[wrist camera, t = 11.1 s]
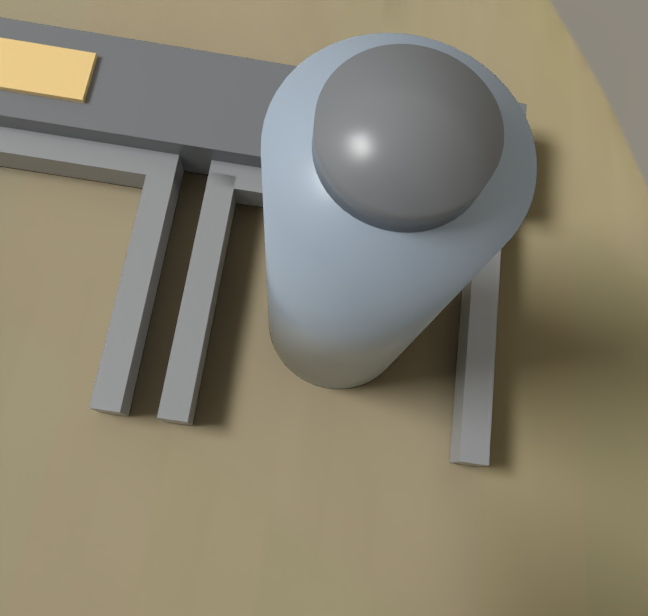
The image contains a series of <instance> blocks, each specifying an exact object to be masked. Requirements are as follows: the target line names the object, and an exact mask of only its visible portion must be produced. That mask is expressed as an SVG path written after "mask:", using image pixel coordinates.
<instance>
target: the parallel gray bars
mask: <svg viewBox="0 0 648 616" xmlns="http://www.w3.org/2000/svg"><path fill="white" fill-rule="evenodd" d="M296 67H297V66H292V65H286V64H280V63H274V62H268V61H262V60H255V59H249V58H243V57H237V56H231V55H225V54H219V53H213V52H207V51H201V50H195V49H189V48H183V47H177V46H171V45H165V44H158V43H152V42H146V41H140V40H134V39H128V38H122V37H116V36H110V35H104V34H98V33H92V32H86V31H80V30H74V29H68V28H62V27H55V26H49V25H43V24H37V23H31V22H25V21H19V20H13V19H7V18H1V17H0V166H3V167H10V168H16V169H22V170H29V171H35V172H41V173H48V174H54V175H61V176H67V177H73V178H80V179H86V180H92V181H99V182H105V183H112V184H118V185H124V186H131V187H137V188H143V190H142V194H141V198H140V202H139V206H138V210H137V214H136V218H135V222H134V226H133V230H132V234H131V238H130V242H129V247H128V251H127V255H126V259H125V263H124V267H123V271H122V275H121V279H120V283H119V287H118V291H117V295H116V300H115V304H114V308H113V312H112V316H111V320H110V324H109V328H108V332H107V336H106V340H105V344H104V348H103V353H102V357H101V361H100V365H99V369H98V373H97V377H96V381H95V385H94V389H93V393H92V397H91V401H90V406H89V408H90V409H93V410H95V411H98V412H102V413H109V414H115V415H122V416H129V412H130V407H131V403H132V398H133V394H134V390H135V385H136V381H137V376H138V372H139V367H140V363H141V359H142V354H143V350H144V345H145V341H146V336H147V332H148V328H149V323H150V319H151V314H152V310H153V305H154V301H155V297H156V292H157V288H158V283H159V279H160V274H161V270H162V266H163V261H164V257H165V252H166V248H167V243H168V239H169V235H170V230H171V226H172V221H173V217H174V212H175V208H176V204H177V199H178V195H179V190H180V186H181V182H182V177H183V173H184V171H188V172H194V173H201V174H207V175H208V179H207V184H206V189H205V193H204V198H203V203H202V208H201V212H200V217H199V222H198V226H197V231H196V236H195V240H194V245H193V250H192V255H191V259H190V264H189V269H188V273H187V278H186V283H185V288H184V292H183V297H182V302H181V306H180V311H179V316H178V320H177V325H176V330H175V335H174V339H173V344H172V349H171V353H170V358H169V363H168V368H167V372H166V377H165V382H164V386H163V391H162V396H161V400H160V405H159V410H158V415H157V418H158V419H160V420H162V421H164V422H171V423H178V424H185V425H193V420H194V415H195V410H196V405H197V399H198V394H199V389H200V384H201V379H202V374H203V369H204V364H205V358H206V353H207V348H208V343H209V338H210V333H211V328H212V323H213V317H214V312H215V307H216V302H217V297H218V292H219V287H220V282H221V276H222V271H223V266H224V261H225V256H226V251H227V246H228V241H229V235H230V230H231V225H232V220H233V215H234V210H235V205H236V203H239V204H245V205H252V206H258V207H263V190H262V169H261V135H262V129H263V124H264V119H265V116H266V113H267V110H268V108H269V105H270V103H271V101H272V99H273V97H274V95H275V93H276V91H277V90H278V88H279V87H280V86H281V84H282V83H283V81H284V80H285V79H286V77H287V76H288V75H289V74H290V73H291V72H292V71H293V70H294V69H295V68H296ZM518 104H519V105H520V107H521V109H522V111H523V113H524V114H525V116H526V106H527V104H522V103H518ZM500 260H501V250H500V251H499V252H498V253H497V254H496V255H495V256H494V257H493V258H492V259H491V260H490V261H489V262H488V263H487V264H486V265H485V266H484V267H483V268H482V269H481V271H480V272H479V273H478V274H477V275H476V276H475V277H474V278H473V279H472V280H471V281H470V282H469V283H468V284H467V285H466V286H465V287H464V288H463V289H462V300H461V313H460V327H459V340H458V354H457V367H456V381H455V394H454V408H453V421H452V435H451V448H450V462H449V463H455V464H462V465H469V466H476V467H480V466H489V457H490V439H491V421H492V403H493V385H494V367H495V350H496V332H497V314H498V296H499V278H500Z"/></svg>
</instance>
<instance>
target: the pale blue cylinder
mask: <svg viewBox="0 0 648 616" xmlns="http://www.w3.org/2000/svg"><path fill="white" fill-rule="evenodd" d="M261 169H262V190H263V212H264V233H265V254H266V275H267V296H268V317H269V330H270V336H271V340H272V343H273V345H274V348H275V350H276V352H277V354H278V355H279V357H280V359H281V360H282V361H283V363H284V364H285V365H286V366H287V367H288V368H289V369H290V370H291V371H292V372H293V373H294V374H296V375H297V376H298V377H300V378H302V379H303V380H305V381H307V382H309V383H311V384H314V385H317V386H320V387H324V388H331V389H345V388H352V387H356V386H360V385H362V384H365V383H367V382H369V381H371V380H373V379H375V378H376V377H378V376H379V375H380V374H381V373H383V372H384V371H385V370H386V369H387V368H388V367H389V366H390V365H391V364H392V363H393V362H394V360H395V359H396V358H397V357H398V356H399V355H400V354H401V353H402V352H403V351H404V350H405V349H406V348H407V347H408V346H409V345H410V344H411V343H412V342H413V341H414V340H415V339H416V337H417V336H418V335H419V334H420V333H421V332H422V331H423V330H424V329H425V328H426V327H427V326H428V325H429V324H430V323H431V322H432V321H433V320H434V319H435V318H436V317H437V315H438V314H439V313H440V312H441V311H442V310H443V309H444V308H445V307H446V306H447V305H448V304H449V303H450V302H451V301H452V300H453V299H454V298H455V297H456V296H457V295H458V294H459V292H460V291H461V290H462V289H463V288H464V287H465V286H466V285H467V284H468V283H469V282H470V281H471V280H472V279H473V278H474V277H475V276H476V275H477V274H478V273H479V272H480V271H481V269H482V268H483V267H484V266H485V265H486V264H487V263H488V262H489V261H490V260H491V259H492V258H493V257H494V256H495V255H496V254H497V253H498V252H499V251H500V250H501V249H502V248H503V246H504V245H505V244H506V243H507V242H508V241H509V240H510V239H511V238H512V237H513V235H514V234H515V233H516V231H517V230H518V228H519V227H520V226H521V224H522V222H523V220H524V218H525V216H526V214H527V213H528V211H529V208H530V205H531V202H532V199H533V196H534V191H535V186H536V181H537V156H536V147H535V143H534V139H533V135H532V131H531V129H530V126H529V124H528V121H527V119H526V116H525V114H524V113H523V111H522V109H521V107H520V105H519V104H518V102H517V100H516V99H515V98H514V96H513V95H512V94H511V92H510V91H509V89H508V88H507V87H506V86H505V85H504V84H503V83H502V82H501V81H500V80H499V78H498V77H497V76H496V75H494V74H493V73H492V72H491V71H490V70H489V69H487V68H486V67H485V66H484V65H483V64H481V63H480V62H478V61H477V60H475V59H474V58H472V57H471V56H469V55H467V54H466V53H464V52H462V51H460V50H458V49H456V48H454V47H452V46H449V45H447V44H444V43H442V42H439V41H436V40H432V39H429V38H425V37H421V36H415V35H409V34H400V33H377V34H367V35H362V36H356V37H352V38H349V39H345V40H342V41H339V42H336V43H334V44H332V45H329V46H327V47H325V48H323V49H321V50H319V51H318V52H316V53H314V54H313V55H311V56H309V57H308V58H307V59H306V60H304V61H303V62H302V63H301V64H299V65H298V66H297V67H296V68H295V69H294V70H293V71H292V72H291V73H290V74H289V75H288V76H287V77H286V79H285V80H284V81H283V83H282V84H281V86H280V87H279V88H278V90H277V91H276V93H275V95H274V97H273V99H272V101H271V103H270V105H269V108H268V110H267V113H266V116H265V119H264V124H263V129H262V135H261Z"/></svg>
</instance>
